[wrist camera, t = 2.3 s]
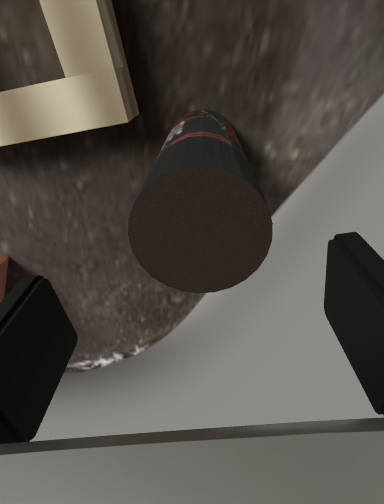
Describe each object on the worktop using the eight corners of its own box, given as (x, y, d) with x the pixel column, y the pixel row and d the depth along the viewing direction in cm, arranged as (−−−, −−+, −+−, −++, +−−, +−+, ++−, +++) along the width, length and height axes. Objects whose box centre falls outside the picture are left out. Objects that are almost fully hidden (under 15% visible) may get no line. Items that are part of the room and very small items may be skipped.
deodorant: (212, 195, 27) (219, 311, 15) (154, 160, 26) (105, 256, 13) (252, 136, 24) (304, 216, 12) (189, 93, 23) (171, 133, 10)
